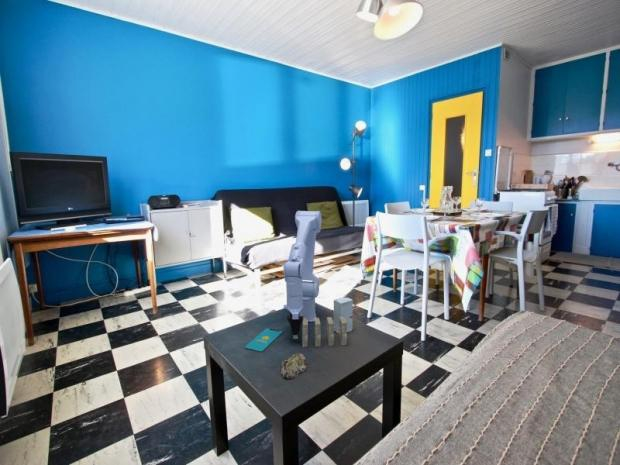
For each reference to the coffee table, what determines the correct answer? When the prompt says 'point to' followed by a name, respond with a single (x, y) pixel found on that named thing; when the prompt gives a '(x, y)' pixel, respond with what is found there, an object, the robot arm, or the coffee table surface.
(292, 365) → the mineral rock
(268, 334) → the smartphone
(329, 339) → the domino
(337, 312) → the skincare box
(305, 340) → the domino
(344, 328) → the domino
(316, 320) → the domino
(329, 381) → the coffee table surface
